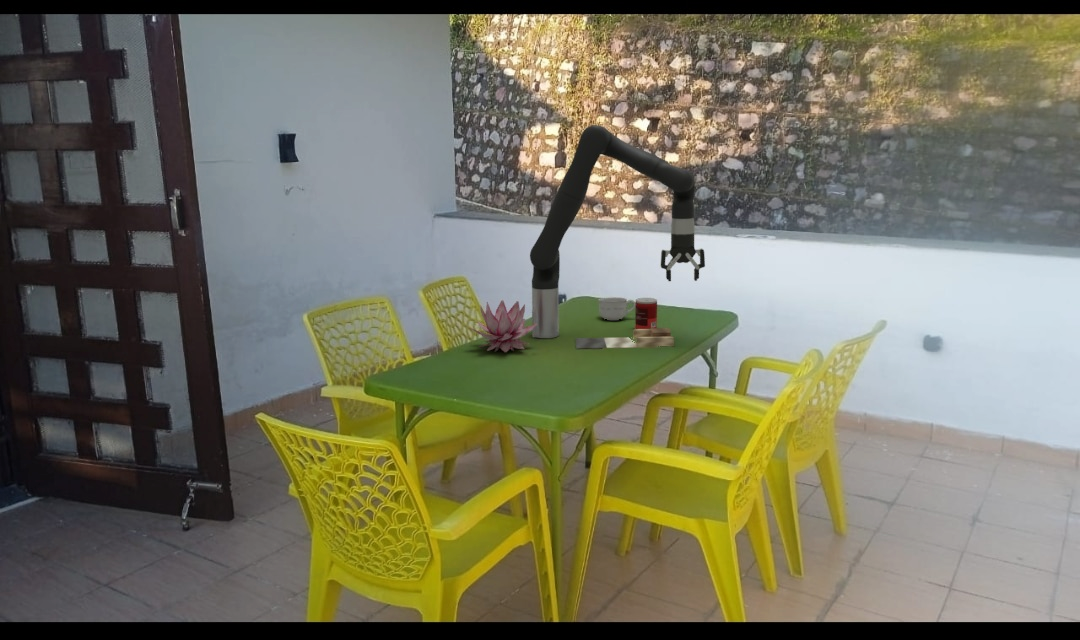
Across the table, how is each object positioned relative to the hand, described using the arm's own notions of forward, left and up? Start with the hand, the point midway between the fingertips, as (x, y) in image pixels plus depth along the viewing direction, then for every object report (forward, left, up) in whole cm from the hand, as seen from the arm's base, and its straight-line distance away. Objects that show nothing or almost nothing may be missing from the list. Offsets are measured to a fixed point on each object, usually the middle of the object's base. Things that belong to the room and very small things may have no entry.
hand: (682, 280), depth 268 cm
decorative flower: (-59, -6, -21) cm, 63 cm away
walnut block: (-7, -1, -21) cm, 22 cm away
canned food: (-10, +18, -21) cm, 29 cm away
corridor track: (-20, -1, -21) cm, 29 cm away
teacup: (-19, +35, -21) cm, 45 cm away
